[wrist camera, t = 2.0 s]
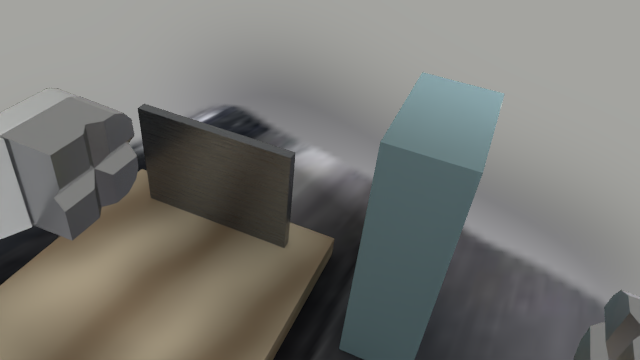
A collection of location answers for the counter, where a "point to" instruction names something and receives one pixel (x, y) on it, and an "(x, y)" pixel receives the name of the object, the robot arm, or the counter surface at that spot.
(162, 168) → the bookend
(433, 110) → the tall teal pillar
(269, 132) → the counter surface
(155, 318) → the shelf board
